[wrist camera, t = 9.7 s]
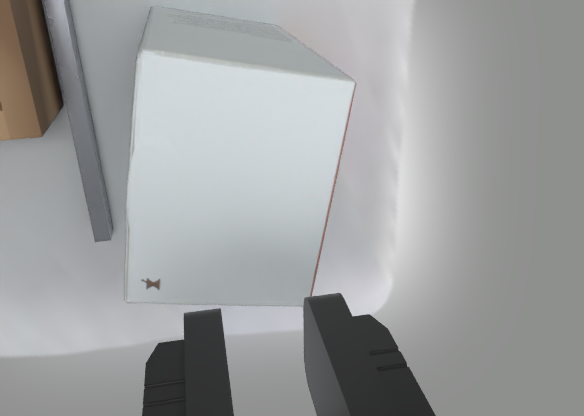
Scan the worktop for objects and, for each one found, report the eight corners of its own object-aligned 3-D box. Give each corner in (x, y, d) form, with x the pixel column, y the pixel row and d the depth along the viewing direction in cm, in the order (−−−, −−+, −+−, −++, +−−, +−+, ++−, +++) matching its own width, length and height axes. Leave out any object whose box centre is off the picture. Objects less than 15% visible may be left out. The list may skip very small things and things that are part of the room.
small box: (258, 173, 30) (311, 313, 19) (140, 163, 29) (118, 309, 17) (281, 21, 27) (361, 78, 16) (149, 1, 26) (130, 47, 14)
